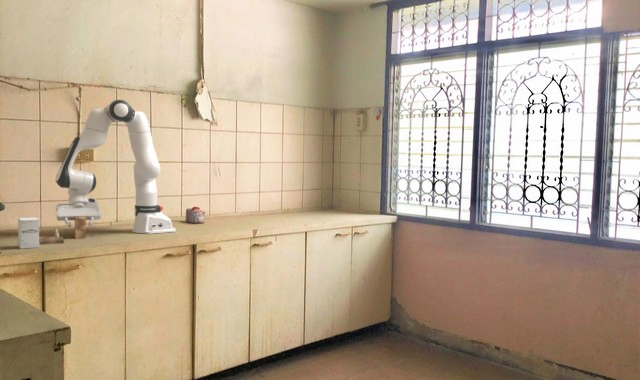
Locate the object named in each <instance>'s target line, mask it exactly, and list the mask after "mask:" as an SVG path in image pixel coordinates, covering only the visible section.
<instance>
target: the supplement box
mask: <svg viewBox="0 0 640 380" xmlns="http://www.w3.org/2000/svg"><path fill="white" fill-rule="evenodd" d="M17 225H18V226H17V232H18V235H17V236H18V240H17V242H18V243H17V245H18V248H19V249H21V250H22V249H31V248H32V249H35V248H37V249H38V248H40V244H39V237H40V219H39V218H38V217H18V218H17Z"/></svg>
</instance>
